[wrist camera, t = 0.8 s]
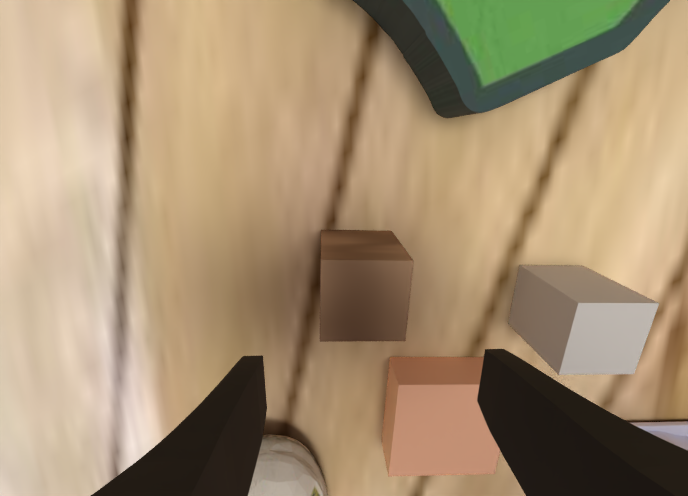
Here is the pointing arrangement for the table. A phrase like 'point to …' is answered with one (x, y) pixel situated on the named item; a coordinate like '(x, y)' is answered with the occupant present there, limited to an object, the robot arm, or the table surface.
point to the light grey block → (580, 319)
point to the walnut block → (364, 286)
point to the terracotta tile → (436, 418)
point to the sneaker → (286, 469)
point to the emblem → (504, 43)
